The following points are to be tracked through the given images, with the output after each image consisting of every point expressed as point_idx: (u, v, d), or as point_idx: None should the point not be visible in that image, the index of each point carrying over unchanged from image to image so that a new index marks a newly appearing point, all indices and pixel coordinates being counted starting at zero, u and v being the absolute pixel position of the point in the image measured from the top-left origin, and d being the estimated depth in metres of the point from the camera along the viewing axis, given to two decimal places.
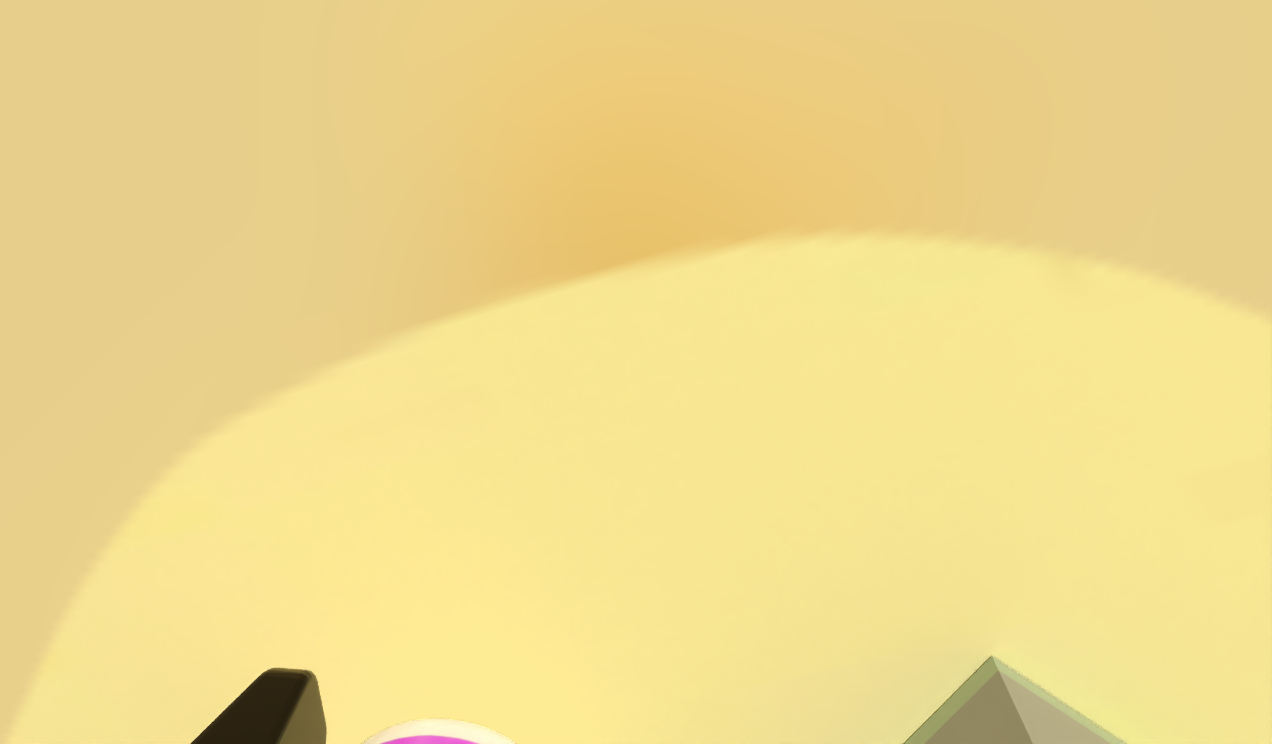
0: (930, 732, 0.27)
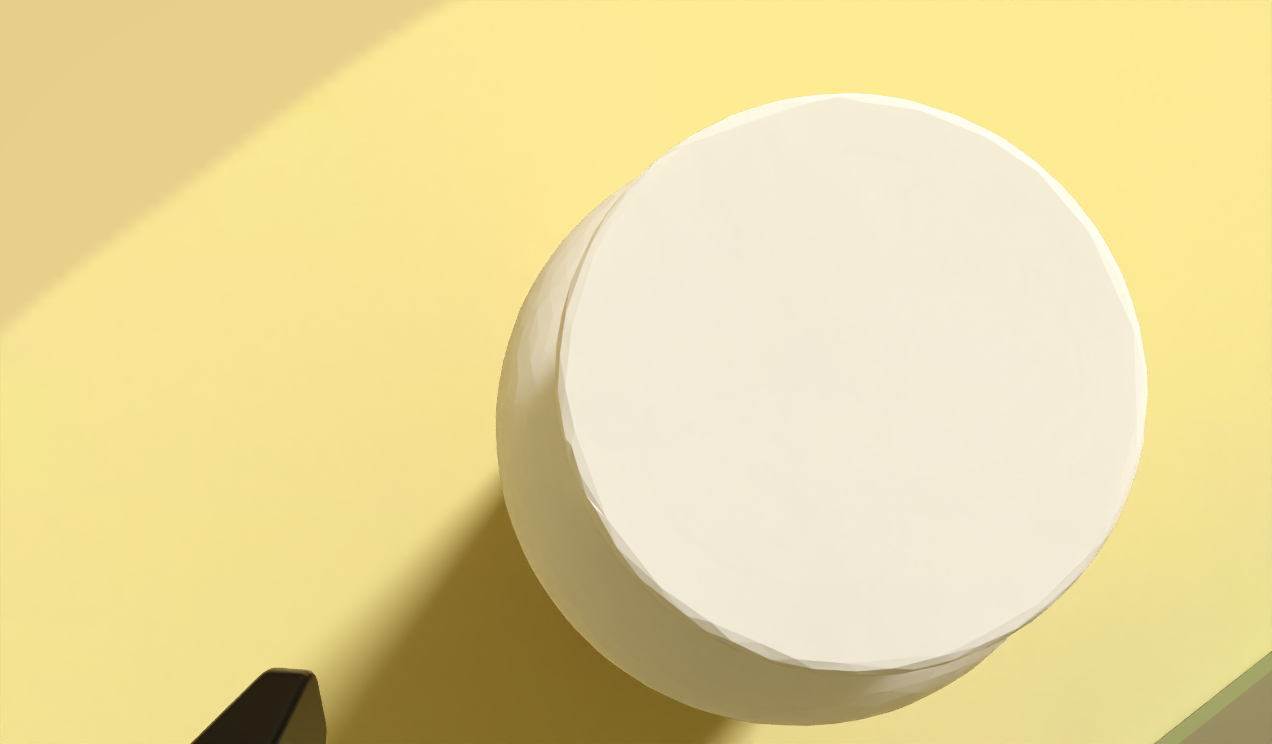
0: None
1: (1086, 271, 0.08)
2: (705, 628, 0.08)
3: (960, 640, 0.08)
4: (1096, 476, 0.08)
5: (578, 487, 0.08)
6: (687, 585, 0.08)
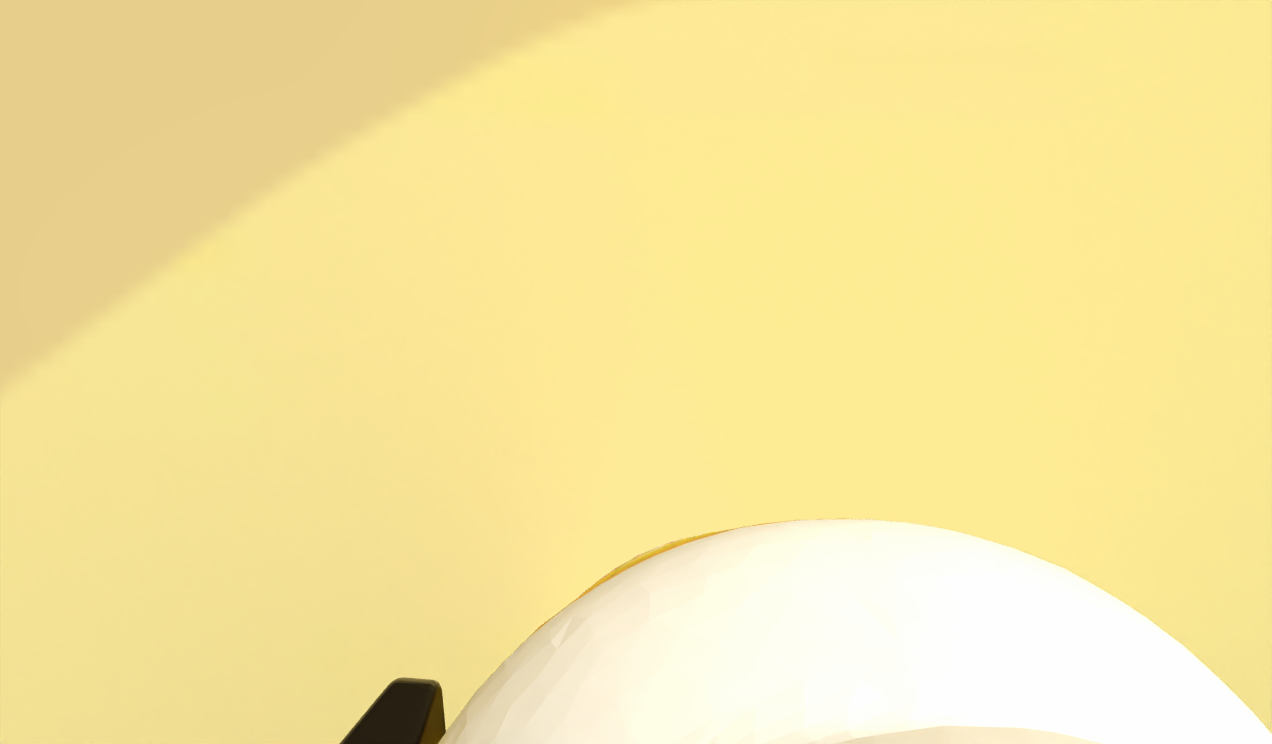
0: None
1: None
2: None
3: None
4: None
5: None
6: None
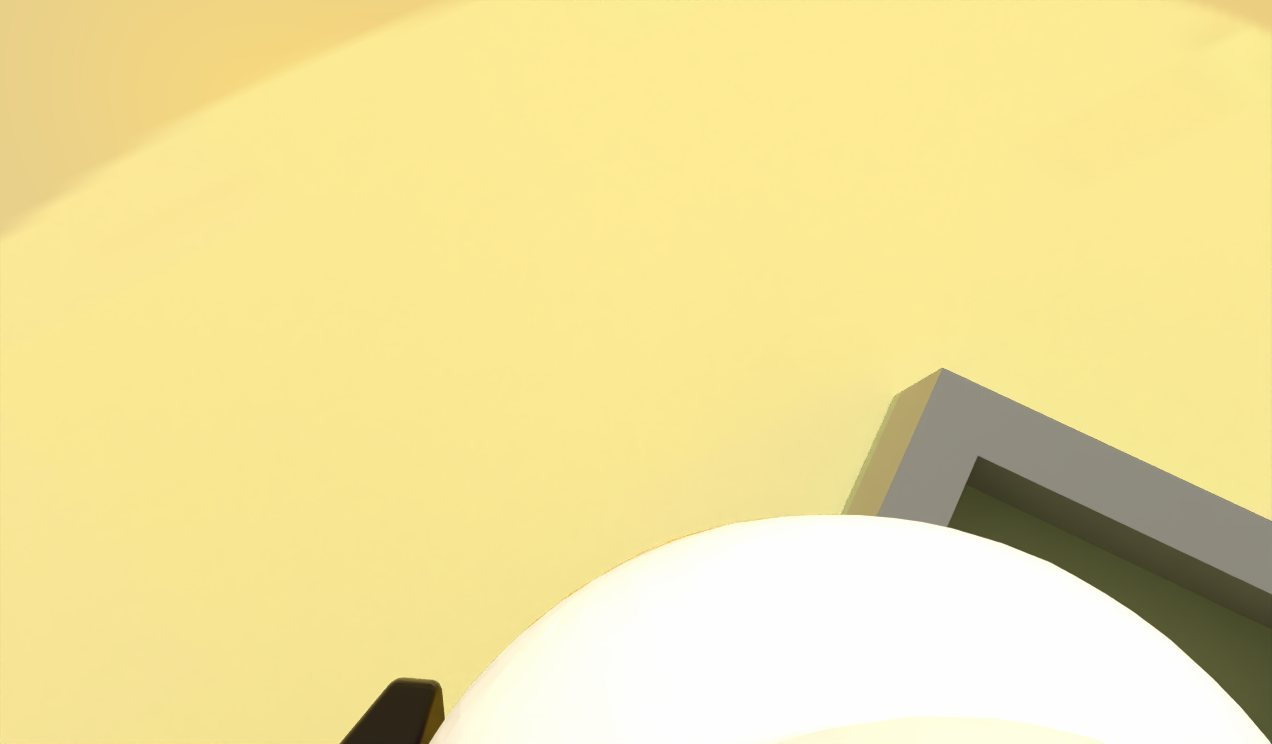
0: (849, 504, 0.21)
1: None
2: None
3: None
4: None
5: None
6: None
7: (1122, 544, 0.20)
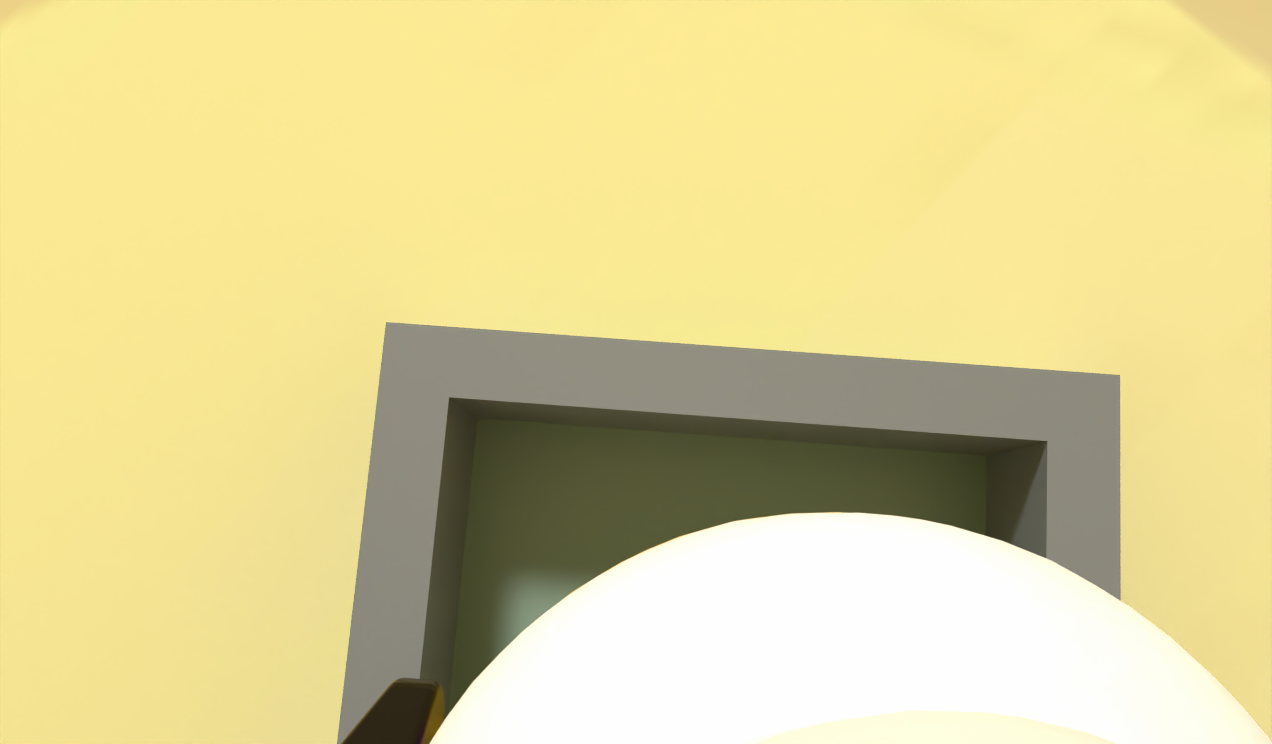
0: None
1: None
2: None
3: None
4: None
5: None
6: None
7: (662, 424, 0.19)
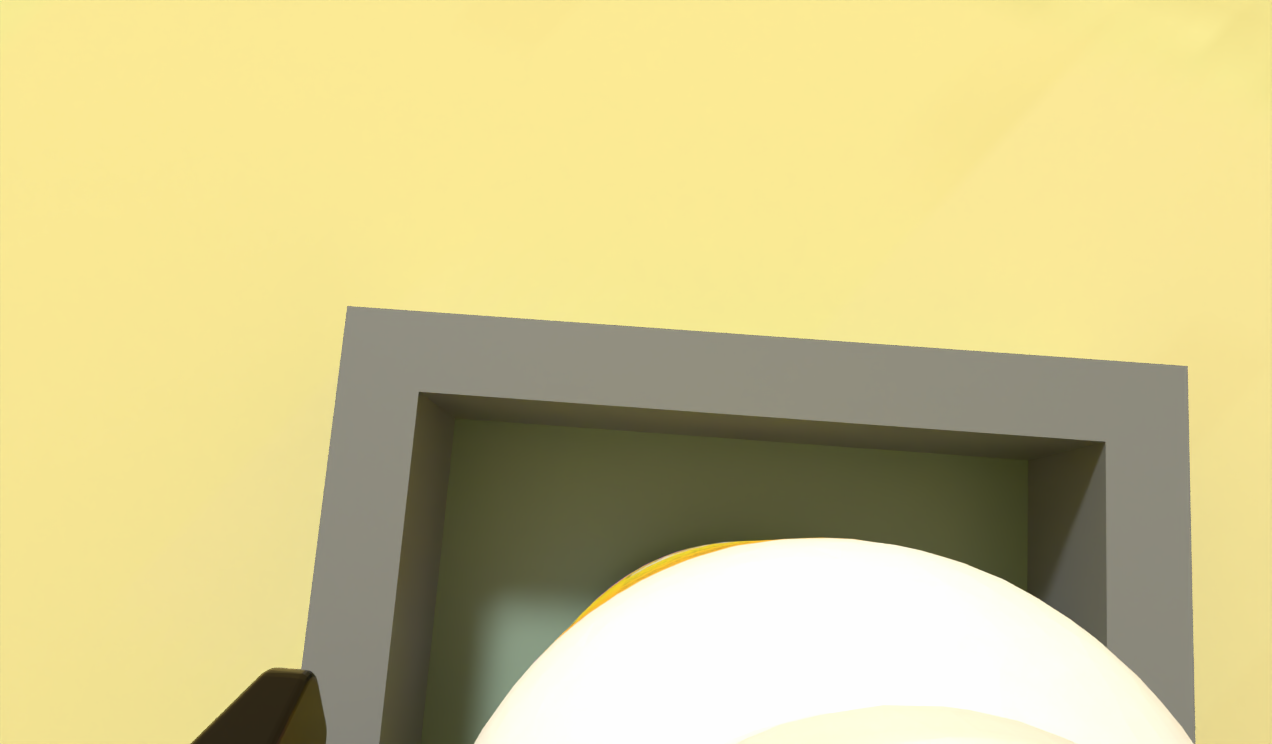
0: None
1: None
2: None
3: None
4: None
5: None
6: None
7: (663, 423, 0.17)
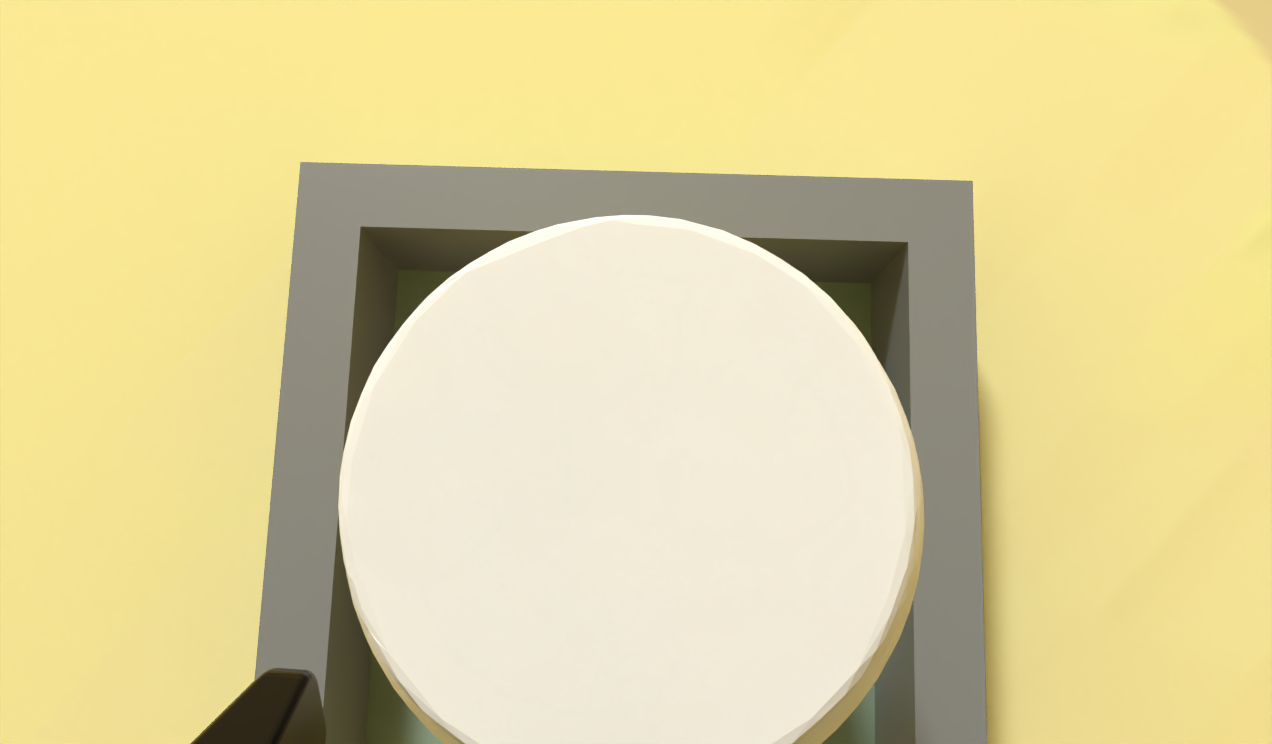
0: None
1: (854, 384, 0.08)
2: None
3: None
4: (866, 587, 0.08)
5: (362, 621, 0.08)
6: (467, 715, 0.08)
7: None
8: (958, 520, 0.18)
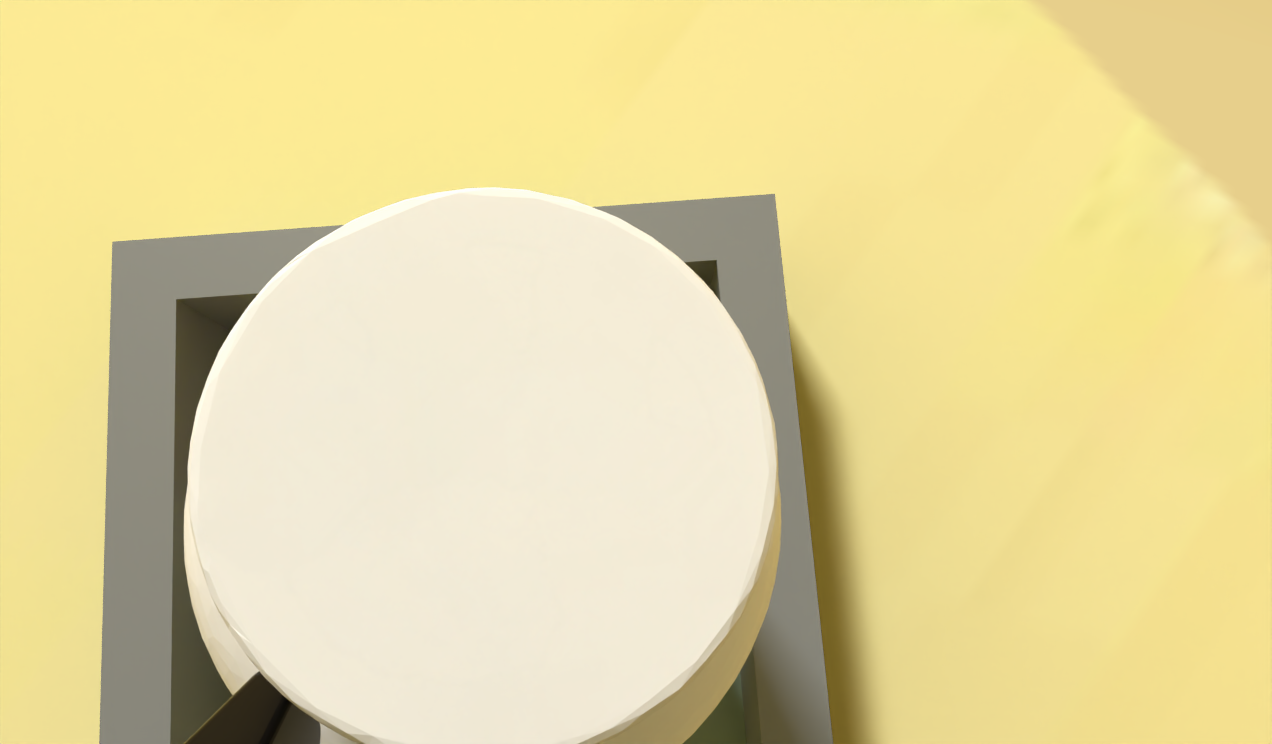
0: None
1: (708, 334, 0.09)
2: (368, 743, 0.07)
3: (625, 710, 0.08)
4: (737, 530, 0.08)
5: (221, 616, 0.08)
6: (344, 701, 0.07)
7: None
8: (787, 528, 0.18)
